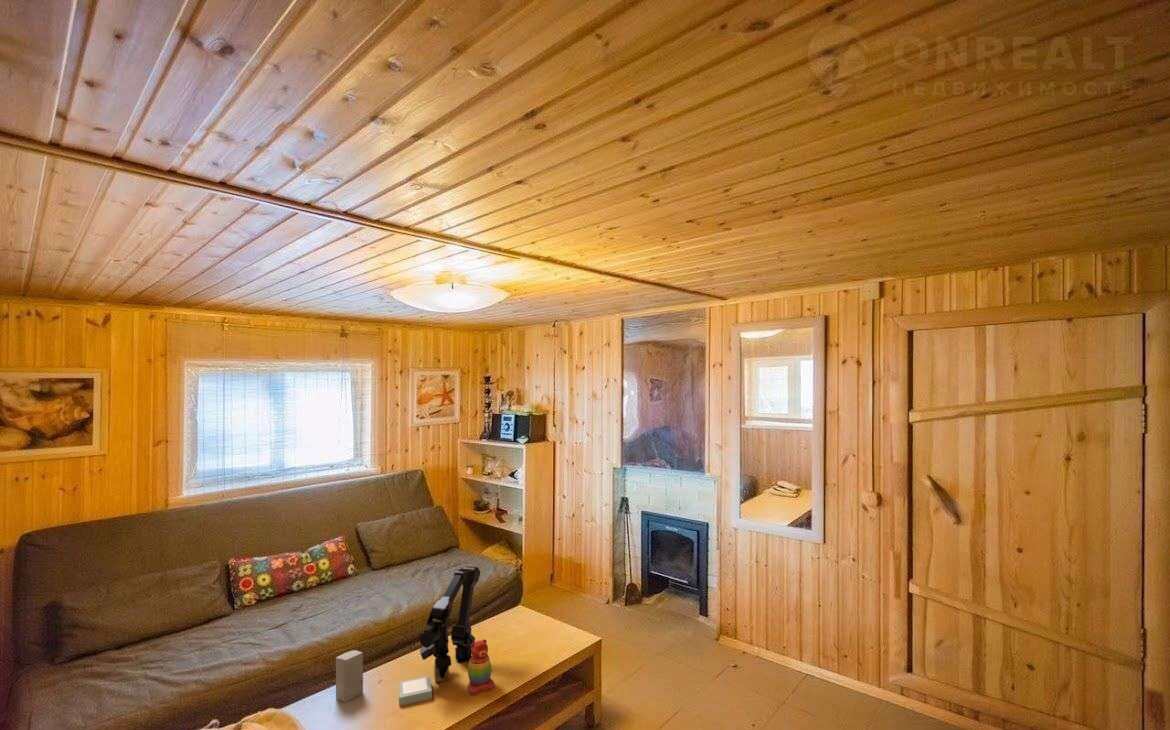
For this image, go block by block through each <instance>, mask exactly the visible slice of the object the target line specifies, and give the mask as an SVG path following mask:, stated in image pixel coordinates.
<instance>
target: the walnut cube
mask: <svg viewBox="0 0 1170 730" xmlns="http://www.w3.org/2000/svg"><path fill="white" fill-rule="evenodd" d="M433 678H434V682H435V683H440V682H444V681H448V680H450V666H448V668H447V671H446V673H445V676H444V678H441V677H440V672H439V668H435V661H434V662H433Z"/></svg>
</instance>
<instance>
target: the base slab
mask: <svg viewBox="0 0 1170 730" xmlns="http://www.w3.org/2000/svg"><path fill="white" fill-rule="evenodd" d="M432 693H433V690H432V684H431V678H430V675H426V676H422V677H416V678H411V679H408V680H407V679H406V680H402V681H398V706H399V707H400V706H401V707H402V706H405V705H410V704H413V703H414V704H415V703H418V702H423V701H427V700H432V698H433V694H432Z"/></svg>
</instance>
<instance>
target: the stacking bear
mask: <svg viewBox="0 0 1170 730" xmlns="http://www.w3.org/2000/svg"><path fill="white" fill-rule="evenodd" d="M488 651H489V647H488V644H487V640H486V639H482V640H475V642H474V643H472V645H471V656H472V657H471V659H470V660H469V662H468V666H467V676H468V679H469V680H468V681H469V682H468V686H467V692H468V694H469V695H471V696H475V695H478V694H480V693H482V692H486V691H492V690H493V691H494V690H495V688H496V683H495V681H494V680H493V679H492V678H491V675H492V662H491V659H490V657H489V653H488Z"/></svg>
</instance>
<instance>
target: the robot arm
mask: <svg viewBox="0 0 1170 730" xmlns="http://www.w3.org/2000/svg"><path fill="white" fill-rule="evenodd" d="M480 576H481V570H480V569H479V567H478V566H471V565H464V567H463V568H459V569H458V570H456V571H454V573H453V577H452V579H451V580H450V583H449V585H448V586H447V587H446V591H444V593H443V595H442V597H441V598H440V599H439V600H438V601H435V604H434V605H433V607H432V608H431V610H430V613H429V614H428V615H429V616H428V619H427V622H426V626H428V627H427V628H425V629H424V631H423V633H421V635H420V638H419V641H420V642H419V643H420V645H421V646H422V647H420V648H419V653H420V656H421V659H422V660H423V661H425V660H427V659H428V658H431V656H433V657H434V658H435V659H434V662H435V668H439V672H440V677H441V678H444V676H445V673H446V671H447V668H448V666H449V667H451V665H452V659H451V656H450V655H449V649H450V648H449V624H448V623H450V622H451V621H452V620H451V619H450V617H451V613H452V611H453V603H454V601H455V599H456V597H457V595H458V593H459V592H460V590H461V587H462V592H461V598H460V604H459V612H458V616H457V622H456V623H455V624H453V625H452V626H451V627H452V629H451V633H450V639H451V642H452V643H451V644H452V645H453V646H455V648H454V652H455V653H454V656H455V657H454V658H455V660H456V662H457V663H464V662H468V661H470V659H471V657H472V656H473V655H472V653H471V645H472V643H474V642H476V637H475V636H474V635H473V634H472V626H471V624H470V616H471V609H472V604H473V596H474V595H473V594H474V589H475V586H476V585H477V583H478V582H479V580H480Z"/></svg>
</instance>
